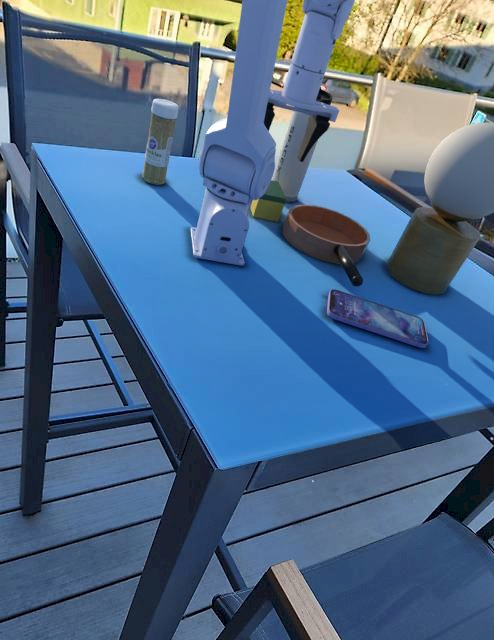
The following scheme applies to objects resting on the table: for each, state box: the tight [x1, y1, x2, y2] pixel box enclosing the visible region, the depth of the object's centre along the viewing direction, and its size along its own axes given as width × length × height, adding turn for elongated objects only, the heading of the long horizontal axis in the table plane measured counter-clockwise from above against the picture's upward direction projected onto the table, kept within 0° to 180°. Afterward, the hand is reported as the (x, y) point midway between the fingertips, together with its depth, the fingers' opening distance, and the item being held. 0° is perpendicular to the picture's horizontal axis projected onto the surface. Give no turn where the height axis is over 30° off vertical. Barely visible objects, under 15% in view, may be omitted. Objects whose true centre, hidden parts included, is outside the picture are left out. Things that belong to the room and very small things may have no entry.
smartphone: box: [326, 288, 429, 349], centre depth 72 cm, size 7×1×15 cm
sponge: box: [250, 179, 286, 223], centre depth 92 cm, size 8×5×4 cm, turn 5°
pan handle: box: [334, 244, 364, 288], centre depth 78 cm, size 12×2×2 cm, turn 5°
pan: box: [282, 204, 371, 265], centre depth 88 cm, size 15×15×4 cm
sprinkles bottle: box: [141, 98, 180, 186], centre depth 87 cm, size 5×5×13 cm
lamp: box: [385, 122, 494, 296], centre depth 81 cm, size 15×14×25 cm
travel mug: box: [271, 86, 333, 203], centre depth 95 cm, size 6×7×20 cm
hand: (280, 155), depth 87 cm, fingers open, 7 cm apart
